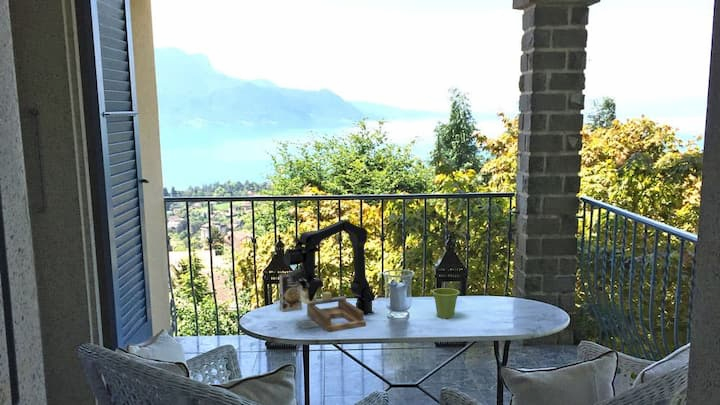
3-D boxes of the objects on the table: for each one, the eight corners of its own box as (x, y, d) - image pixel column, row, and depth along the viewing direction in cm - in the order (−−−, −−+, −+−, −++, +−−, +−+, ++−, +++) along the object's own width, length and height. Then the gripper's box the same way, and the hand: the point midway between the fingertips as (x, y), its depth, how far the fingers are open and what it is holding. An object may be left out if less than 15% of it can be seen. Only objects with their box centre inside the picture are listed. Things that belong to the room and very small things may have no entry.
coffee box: (282, 311, 267) (282, 277, 265) (279, 308, 273) (278, 273, 271) (302, 309, 270) (301, 275, 268) (298, 305, 276) (297, 272, 274)
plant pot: (457, 312, 266) (458, 288, 265) (459, 320, 254) (460, 295, 253) (431, 311, 267) (431, 287, 266) (432, 320, 256) (432, 294, 254)
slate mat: (313, 321, 254) (313, 320, 254) (319, 326, 247) (319, 325, 247) (296, 323, 251) (296, 322, 251) (302, 329, 244) (302, 328, 244)
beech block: (311, 299, 251) (311, 287, 250) (316, 302, 246) (316, 290, 246) (300, 300, 249) (300, 289, 248) (305, 303, 244) (305, 292, 244)
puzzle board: (342, 309, 270) (342, 298, 269) (365, 325, 248) (365, 313, 247) (307, 315, 262) (307, 303, 262) (328, 331, 240) (328, 318, 240)
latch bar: (343, 298, 268) (343, 289, 267) (346, 300, 265) (346, 291, 264) (308, 303, 260) (308, 294, 260) (310, 305, 258) (310, 296, 257)
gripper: (282, 260, 250) (282, 295, 252) (297, 269, 234) (298, 307, 235) (307, 257, 255) (307, 293, 257) (323, 266, 239) (323, 304, 240)
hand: (308, 299), depth 247 cm, fingers closed on beech block, 5 cm apart
